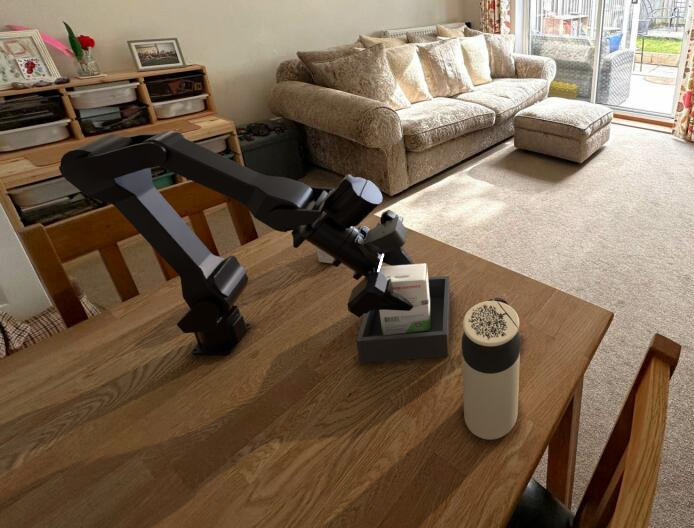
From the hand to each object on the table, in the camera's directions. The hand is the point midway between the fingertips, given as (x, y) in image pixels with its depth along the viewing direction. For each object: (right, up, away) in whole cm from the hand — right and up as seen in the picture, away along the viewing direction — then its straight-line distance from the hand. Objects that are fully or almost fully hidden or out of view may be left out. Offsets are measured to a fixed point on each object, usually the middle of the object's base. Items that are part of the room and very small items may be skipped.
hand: (414, 289), depth 72 cm
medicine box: (-23, 0, +23) cm, 33 cm away
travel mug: (+14, -14, -12) cm, 24 cm away
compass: (+16, -10, 0) cm, 19 cm away
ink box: (-2, -8, +3) cm, 8 cm away
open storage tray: (-2, -8, +3) cm, 9 cm away
